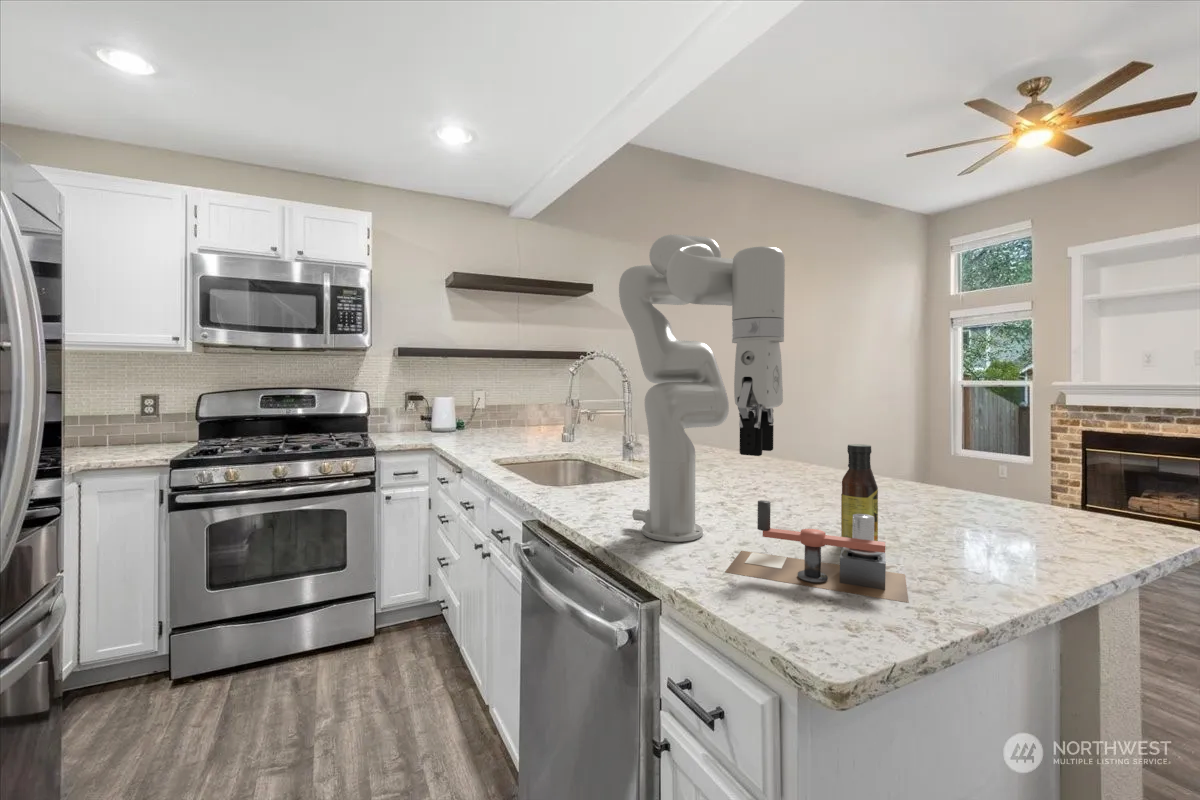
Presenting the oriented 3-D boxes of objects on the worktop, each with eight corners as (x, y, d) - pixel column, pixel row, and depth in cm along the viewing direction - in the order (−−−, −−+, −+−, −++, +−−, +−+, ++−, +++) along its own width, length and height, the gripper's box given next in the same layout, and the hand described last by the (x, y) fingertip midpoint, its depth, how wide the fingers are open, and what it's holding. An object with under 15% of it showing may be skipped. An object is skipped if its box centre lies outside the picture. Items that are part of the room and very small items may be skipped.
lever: (755, 539, 86) (755, 503, 86) (759, 533, 89) (759, 498, 89) (885, 556, 77) (886, 516, 77) (884, 549, 81) (885, 511, 80)
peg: (841, 582, 82) (842, 518, 82) (843, 570, 87) (844, 510, 87) (882, 589, 79) (884, 522, 79) (882, 576, 84) (883, 514, 84)
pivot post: (795, 580, 83) (796, 547, 83) (799, 571, 87) (799, 540, 87) (826, 585, 81) (826, 552, 81) (828, 576, 85) (829, 543, 85)
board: (724, 578, 87) (724, 571, 87) (741, 555, 97) (741, 549, 97) (908, 609, 75) (908, 601, 75) (904, 580, 85) (904, 573, 85)
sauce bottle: (882, 556, 97) (884, 447, 96) (845, 554, 98) (847, 447, 97) (871, 545, 103) (873, 443, 102) (837, 543, 104) (838, 442, 104)
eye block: (839, 582, 82) (839, 557, 82) (841, 569, 87) (842, 545, 87) (885, 590, 79) (885, 563, 79) (884, 576, 85) (885, 551, 84)
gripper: (767, 327, 71) (766, 462, 72) (796, 335, 85) (795, 447, 86) (713, 330, 75) (713, 458, 76) (749, 337, 89) (749, 444, 90)
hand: (756, 451), depth 81 cm, fingers open, 5 cm apart
